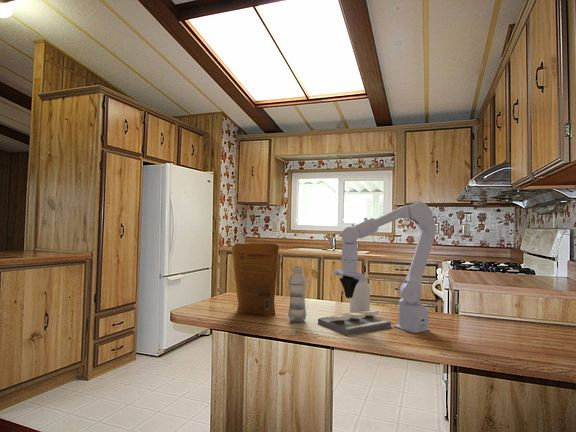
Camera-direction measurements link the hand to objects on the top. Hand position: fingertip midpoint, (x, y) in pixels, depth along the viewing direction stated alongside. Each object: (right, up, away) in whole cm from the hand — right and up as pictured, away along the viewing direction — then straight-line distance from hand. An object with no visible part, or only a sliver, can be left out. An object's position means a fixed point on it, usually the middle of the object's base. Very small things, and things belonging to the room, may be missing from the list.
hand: (349, 297), depth 134 cm
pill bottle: (+7, -10, +16) cm, 21 cm away
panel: (+1, -9, -3) cm, 10 cm away
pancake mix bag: (-35, -9, +12) cm, 38 cm away
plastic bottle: (-19, -9, +1) cm, 21 cm away
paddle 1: (-5, -6, -6) cm, 10 cm away
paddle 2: (+7, -6, +1) cm, 10 cm away
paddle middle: (+1, -6, -2) cm, 7 cm away
